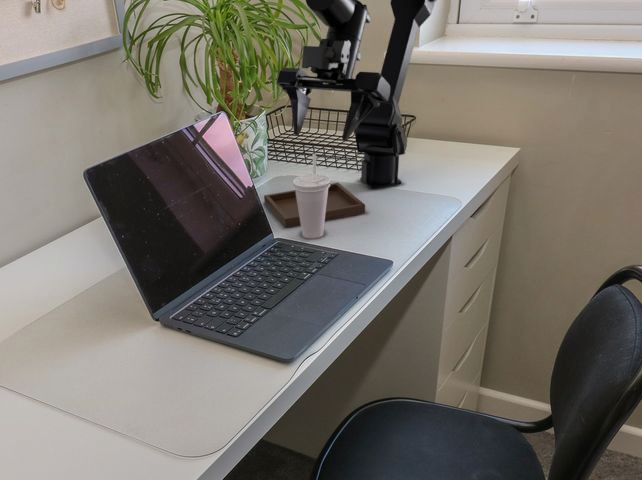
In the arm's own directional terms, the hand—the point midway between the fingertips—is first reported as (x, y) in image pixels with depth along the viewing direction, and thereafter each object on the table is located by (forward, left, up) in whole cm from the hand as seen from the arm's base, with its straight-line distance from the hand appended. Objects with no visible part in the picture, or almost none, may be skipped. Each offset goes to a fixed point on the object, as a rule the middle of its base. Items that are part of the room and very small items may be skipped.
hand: (319, 137), depth 115 cm
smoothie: (+2, +2, -16) cm, 16 cm away
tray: (-2, -9, -16) cm, 18 cm away
